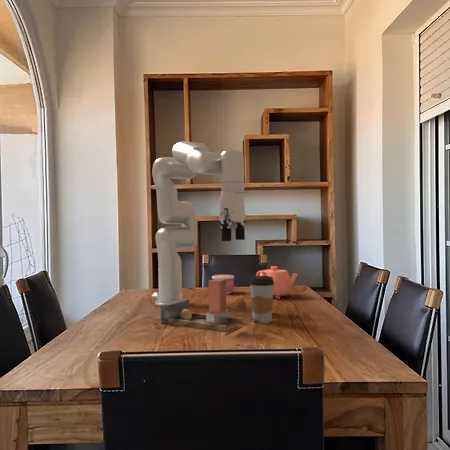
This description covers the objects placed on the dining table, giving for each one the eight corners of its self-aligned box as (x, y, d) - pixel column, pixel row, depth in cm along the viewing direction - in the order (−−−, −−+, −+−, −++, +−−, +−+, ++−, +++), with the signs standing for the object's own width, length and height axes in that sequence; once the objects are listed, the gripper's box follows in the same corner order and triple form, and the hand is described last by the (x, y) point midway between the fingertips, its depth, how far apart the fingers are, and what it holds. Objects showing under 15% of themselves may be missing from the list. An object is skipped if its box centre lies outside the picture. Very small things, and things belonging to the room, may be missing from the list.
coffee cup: (276, 319, 156) (276, 276, 156) (271, 324, 148) (270, 279, 148) (253, 317, 159) (253, 275, 158) (246, 323, 151) (246, 278, 150)
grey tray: (161, 326, 147) (160, 304, 147) (182, 319, 158) (182, 298, 157) (224, 335, 135) (224, 311, 135) (243, 326, 146) (243, 304, 145)
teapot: (298, 298, 195) (298, 267, 195) (262, 301, 190) (261, 269, 190) (284, 292, 211) (283, 264, 210) (249, 295, 206) (249, 265, 206)
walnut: (177, 321, 149) (177, 309, 149) (184, 319, 152) (184, 307, 152) (187, 322, 147) (187, 310, 147) (194, 320, 150) (194, 308, 150)
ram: (204, 326, 140) (204, 281, 140) (219, 320, 148) (219, 278, 148) (215, 327, 138) (215, 282, 138) (230, 321, 146) (229, 278, 146)
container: (234, 294, 207) (234, 277, 206) (211, 295, 207) (211, 277, 207) (234, 291, 217) (234, 274, 217) (212, 291, 217) (212, 274, 217)
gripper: (234, 190, 158) (235, 239, 158) (209, 187, 142) (210, 241, 143) (254, 189, 154) (254, 239, 154) (230, 186, 139) (231, 241, 139)
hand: (233, 240), depth 148 cm, fingers open, 9 cm apart
